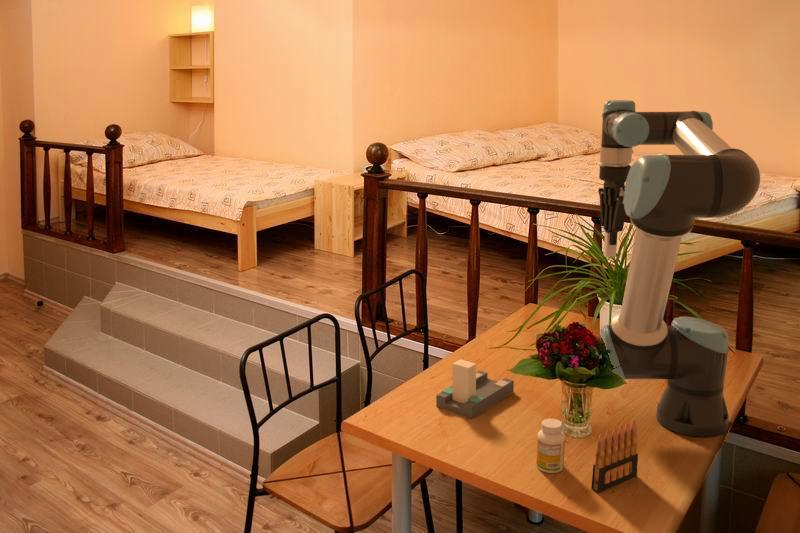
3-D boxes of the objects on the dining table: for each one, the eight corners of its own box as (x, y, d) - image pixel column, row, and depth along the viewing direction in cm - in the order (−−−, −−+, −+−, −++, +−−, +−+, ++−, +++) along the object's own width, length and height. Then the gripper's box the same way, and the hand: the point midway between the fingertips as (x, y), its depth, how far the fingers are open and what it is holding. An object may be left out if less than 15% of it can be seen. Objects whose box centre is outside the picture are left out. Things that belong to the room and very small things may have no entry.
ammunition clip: (629, 472, 152) (634, 417, 149) (637, 476, 150) (641, 420, 147) (590, 488, 146) (594, 431, 143) (598, 493, 145) (601, 435, 142)
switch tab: (460, 395, 183) (460, 359, 180) (475, 400, 180) (476, 363, 178) (452, 399, 180) (452, 363, 178) (467, 404, 178) (468, 368, 175)
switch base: (479, 381, 194) (479, 369, 193) (513, 391, 188) (513, 379, 187) (436, 406, 181) (436, 393, 180) (471, 418, 175) (471, 405, 174)
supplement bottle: (547, 457, 158) (549, 414, 155) (569, 466, 154) (571, 422, 151) (530, 466, 154) (532, 422, 152) (552, 477, 151) (554, 432, 148)
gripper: (642, 167, 184) (635, 262, 191) (617, 160, 197) (612, 249, 203) (613, 168, 183) (607, 263, 190) (590, 161, 195) (585, 250, 202)
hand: (609, 256), depth 196 cm, fingers closed
